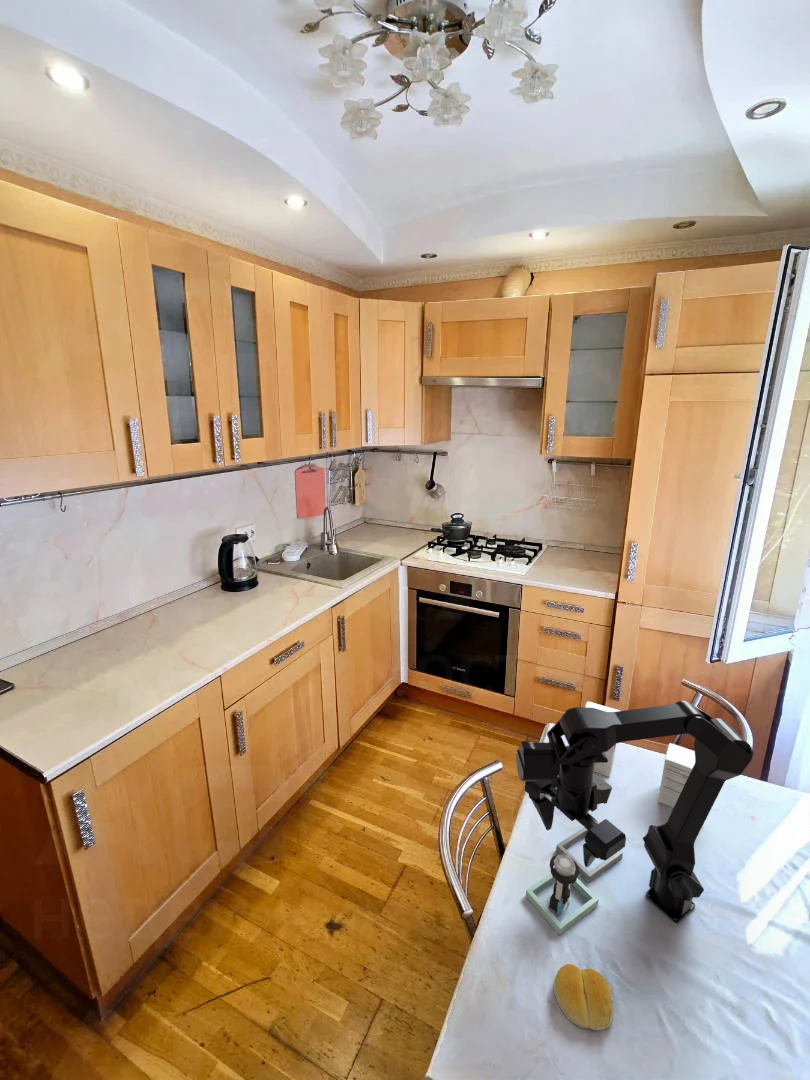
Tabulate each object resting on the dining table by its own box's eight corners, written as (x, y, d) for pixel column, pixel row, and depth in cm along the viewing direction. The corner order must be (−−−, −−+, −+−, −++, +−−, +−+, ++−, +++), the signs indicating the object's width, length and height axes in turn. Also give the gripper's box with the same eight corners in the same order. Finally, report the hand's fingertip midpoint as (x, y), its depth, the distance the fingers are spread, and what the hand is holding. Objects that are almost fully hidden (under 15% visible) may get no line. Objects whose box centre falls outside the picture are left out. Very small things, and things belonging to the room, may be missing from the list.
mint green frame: (597, 905, 93) (598, 899, 93) (559, 935, 88) (560, 928, 88) (562, 870, 101) (563, 864, 100) (525, 895, 95) (526, 889, 95)
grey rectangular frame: (622, 858, 103) (622, 852, 103) (588, 882, 98) (589, 876, 98) (588, 829, 110) (589, 823, 110) (556, 850, 105) (556, 844, 105)
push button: (555, 880, 98) (560, 840, 96) (581, 896, 95) (586, 856, 92) (541, 904, 94) (545, 863, 91) (567, 923, 90) (573, 881, 88)
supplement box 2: (662, 783, 124) (669, 741, 120) (695, 796, 120) (703, 753, 116) (656, 802, 118) (664, 758, 115) (691, 816, 114) (700, 771, 110)
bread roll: (552, 966, 83) (554, 949, 82) (608, 981, 81) (610, 964, 80) (554, 1023, 76) (556, 1005, 75) (615, 1041, 74) (619, 1023, 73)
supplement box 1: (610, 778, 126) (616, 728, 122) (574, 765, 130) (579, 717, 126) (615, 757, 133) (621, 710, 129) (581, 746, 137) (586, 699, 134)
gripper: (650, 794, 83) (638, 865, 88) (565, 733, 99) (558, 796, 103) (609, 821, 78) (598, 896, 82) (525, 753, 93) (519, 818, 97)
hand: (567, 846), depth 91 cm, fingers open, 9 cm apart
